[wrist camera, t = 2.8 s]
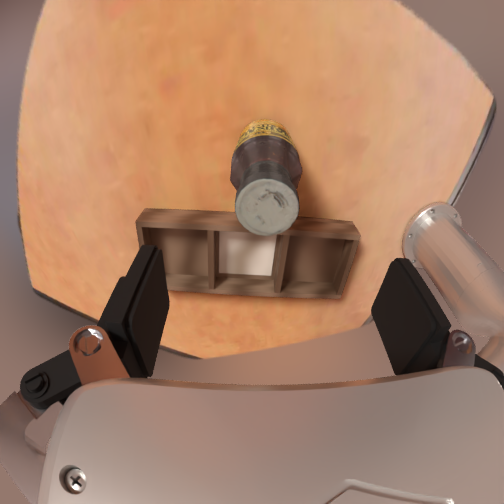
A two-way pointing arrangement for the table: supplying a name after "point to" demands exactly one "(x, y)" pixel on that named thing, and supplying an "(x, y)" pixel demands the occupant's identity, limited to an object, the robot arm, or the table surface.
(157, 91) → the table surface
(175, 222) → the walnut rack
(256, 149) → the sauce bottle
